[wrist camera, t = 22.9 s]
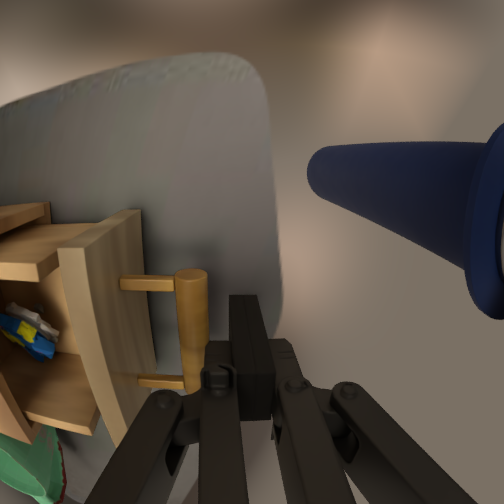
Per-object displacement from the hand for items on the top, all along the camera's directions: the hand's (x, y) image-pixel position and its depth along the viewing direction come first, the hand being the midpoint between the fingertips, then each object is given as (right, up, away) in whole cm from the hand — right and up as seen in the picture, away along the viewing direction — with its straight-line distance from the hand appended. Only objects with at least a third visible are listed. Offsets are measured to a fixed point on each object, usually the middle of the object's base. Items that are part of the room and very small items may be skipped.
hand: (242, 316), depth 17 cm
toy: (-11, -1, -2) cm, 11 cm away
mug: (-20, -12, +6) cm, 25 cm away
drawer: (-10, +1, +1) cm, 10 cm away
